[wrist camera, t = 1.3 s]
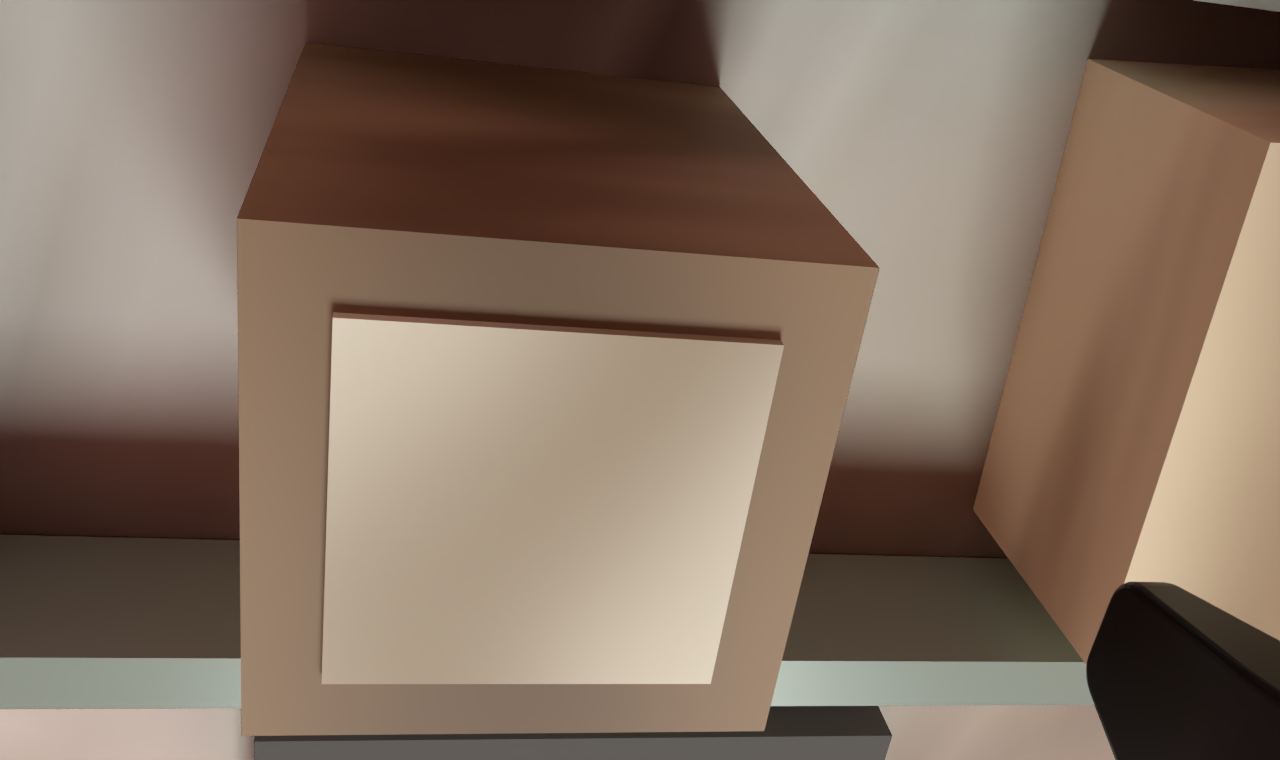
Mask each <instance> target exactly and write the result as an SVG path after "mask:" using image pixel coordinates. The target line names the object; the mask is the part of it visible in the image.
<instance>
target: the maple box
mask: <svg viewBox="0 0 1280 760" xmlns="http://www.w3.org/2000/svg"><path fill="white" fill-rule="evenodd" d="M973 511H974V512H975V513H976V515H977V516H978V518H979V519H980V520H981V522H982V523H983V524H984V526H985V527H986V528H987V530H988V531H989V533H990V534H991V535H992V537H993V538H994V539H995V541H996V542H997V543H998V545H999V546H1000V548H1001V549H1002V550H1003V552H1004V553H1005V554H1006V556H1007V557H1008V559H1009V560H1010V561H1011V563H1012V564H1013V565H1014V567H1015V568H1016V569H1017V571H1018V572H1019V574H1020V575H1021V576H1022V578H1023V579H1024V580H1025V582H1026V583H1027V584H1028V586H1029V587H1030V589H1031V590H1032V591H1033V593H1034V594H1035V595H1036V597H1037V598H1038V600H1039V601H1040V602H1041V604H1042V605H1043V606H1044V608H1045V609H1046V610H1047V612H1048V613H1049V615H1050V616H1051V617H1052V619H1053V620H1054V621H1055V623H1056V624H1057V625H1058V627H1059V628H1060V630H1061V631H1062V632H1063V634H1064V635H1065V636H1066V638H1067V639H1068V641H1069V642H1070V643H1071V645H1072V646H1073V647H1074V649H1075V650H1076V651H1077V653H1078V654H1079V656H1080V657H1081V658H1082V660H1083V661H1084V662H1085V664H1086V665H1087V659H1088V656H1089V653H1090V651H1091V648H1092V645H1093V643H1094V640H1095V638H1096V635H1097V633H1098V630H1099V628H1100V625H1101V623H1102V620H1103V617H1104V615H1105V612H1106V610H1107V607H1108V605H1109V602H1110V600H1111V597H1112V595H1113V593H1114V592H1115V591H1116V589H1117V588H1118V587H1119V586H1121V585H1122V584H1124V583H1127V582H1166V583H1171V584H1174V585H1177V586H1179V587H1181V588H1182V589H1184V590H1186V591H1188V592H1190V593H1192V594H1194V595H1196V596H1197V597H1199V598H1201V599H1203V600H1205V601H1207V602H1209V603H1210V604H1212V605H1214V606H1216V607H1218V608H1220V609H1222V610H1224V611H1225V612H1227V613H1229V614H1231V615H1233V616H1235V617H1237V618H1238V619H1240V620H1242V621H1244V622H1246V623H1248V624H1250V625H1251V626H1253V627H1255V628H1257V629H1259V630H1261V631H1263V632H1265V633H1266V634H1268V635H1270V636H1272V637H1274V638H1276V639H1278V640H1279V641H1280V70H1270V69H1253V68H1236V67H1218V66H1201V65H1184V64H1166V63H1149V62H1132V61H1114V60H1097V59H1088V60H1087V64H1086V68H1085V71H1084V75H1083V79H1082V83H1081V87H1080V91H1079V95H1078V99H1077V103H1076V107H1075V111H1074V115H1073V119H1072V122H1071V126H1070V130H1069V134H1068V138H1067V142H1066V146H1065V150H1064V154H1063V158H1062V162H1061V166H1060V170H1059V174H1058V177H1057V181H1056V185H1055V189H1054V193H1053V197H1052V201H1051V205H1050V209H1049V213H1048V217H1047V221H1046V225H1045V229H1044V232H1043V236H1042V240H1041V244H1040V248H1039V252H1038V256H1037V260H1036V264H1035V268H1034V272H1033V276H1032V280H1031V284H1030V287H1029V291H1028V295H1027V299H1026V303H1025V307H1024V311H1023V315H1022V319H1021V323H1020V327H1019V331H1018V335H1017V339H1016V342H1015V346H1014V350H1013V354H1012V358H1011V362H1010V366H1009V370H1008V374H1007V378H1006V382H1005V386H1004V390H1003V394H1002V397H1001V401H1000V405H999V409H998V413H997V417H996V421H995V425H994V429H993V433H992V437H991V441H990V445H989V449H988V452H987V456H986V460H985V464H984V468H983V472H982V476H981V480H980V484H979V488H978V492H977V496H976V500H975V504H974V507H973Z"/></svg>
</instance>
